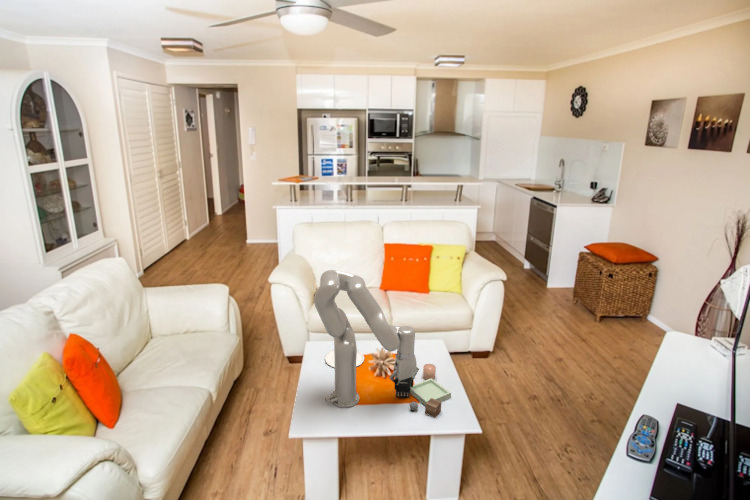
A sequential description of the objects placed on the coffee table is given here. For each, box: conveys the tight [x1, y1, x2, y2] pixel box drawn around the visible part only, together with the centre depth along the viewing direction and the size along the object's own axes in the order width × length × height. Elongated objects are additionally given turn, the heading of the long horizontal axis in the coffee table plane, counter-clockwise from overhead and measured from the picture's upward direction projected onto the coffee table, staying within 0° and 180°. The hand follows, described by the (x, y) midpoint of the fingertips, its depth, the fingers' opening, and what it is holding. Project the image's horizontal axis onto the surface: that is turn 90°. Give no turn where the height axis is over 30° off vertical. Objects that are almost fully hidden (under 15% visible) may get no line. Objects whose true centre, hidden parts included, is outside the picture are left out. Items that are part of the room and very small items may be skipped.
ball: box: [409, 401, 419, 411], centre depth 194 cm, size 4×4×4 cm
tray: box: [410, 378, 452, 407], centre depth 205 cm, size 14×14×2 cm
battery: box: [395, 377, 411, 399], centre depth 202 cm, size 7×4×11 cm, turn 87°
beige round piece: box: [422, 363, 437, 381], centre depth 218 cm, size 6×6×6 cm
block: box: [424, 398, 442, 418], centre depth 192 cm, size 5×5×5 cm
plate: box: [324, 350, 365, 369], centre depth 235 cm, size 21×21×1 cm
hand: (403, 388), depth 203 cm, fingers closed on battery, 6 cm apart
